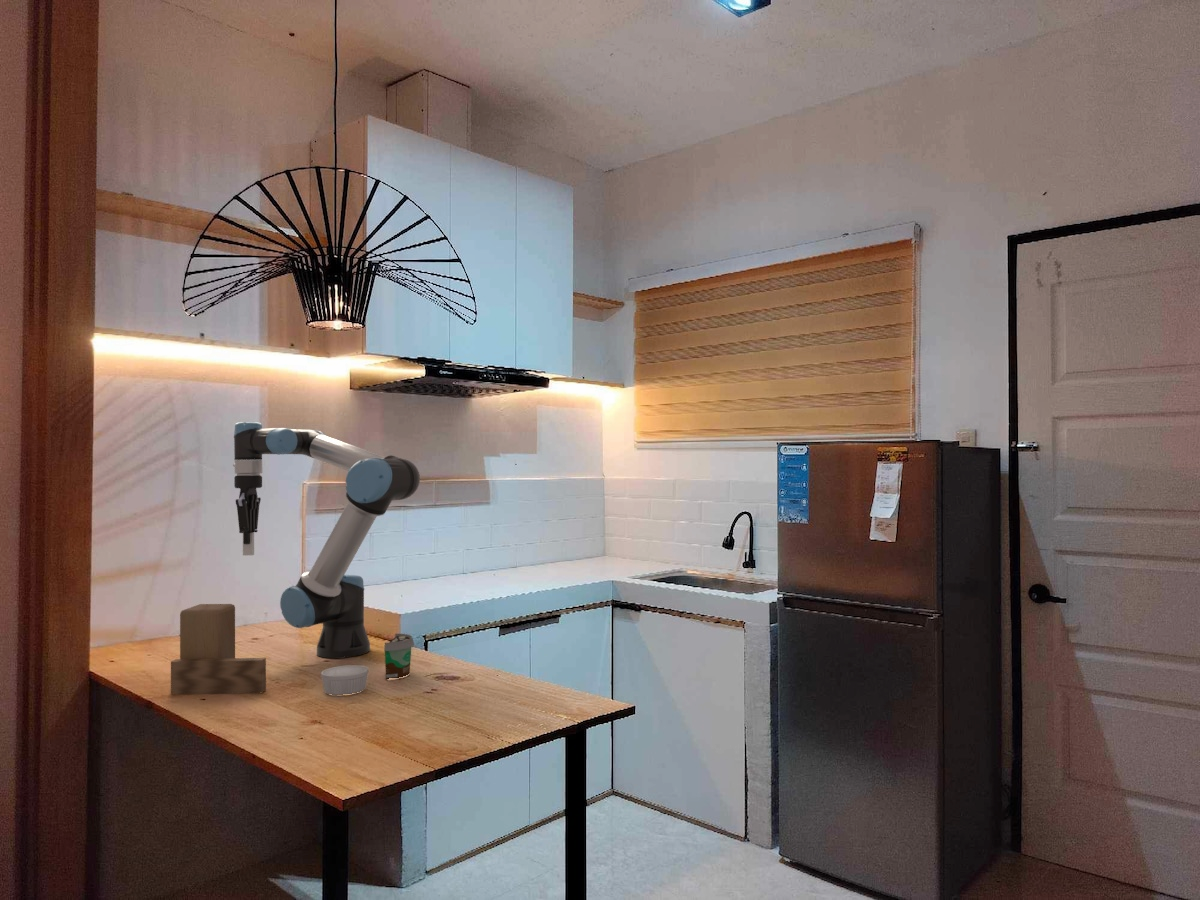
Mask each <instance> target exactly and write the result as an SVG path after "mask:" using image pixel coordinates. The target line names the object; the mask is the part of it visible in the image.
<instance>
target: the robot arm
mask: <svg viewBox="0 0 1200 900" xmlns="http://www.w3.org/2000/svg"><path fill="white" fill-rule="evenodd" d="M233 439H234V441H233V442H234V443H233V445H234V449H233V450H234V463H233V464H232V466H233V467H234V474H236V475H235V476H234V488H235V489H239V495H238V498H237V499H235V506H236V510H237V511H236V512H237V520H238V521H237V522H238V529H239V530H238V532H239V534H242V556H254V555H255V533H258V531H259V530H258V524H259V523H258V522H259V515H260V514H259V512H260V504H261V500H262V499H261V498H262V497H260V496H258V492H257V489H261V488H262V487H263V476H262V475H261V474H262V473H263V455H303V456H305V457H309V458H313V459H316V460H318V461H321V462H323V463H326V464H328V465H332V466H333V467H336V468H340V469H342V470H345V471H348V472H347V474H346V477H345V484H346V486H345V491H346V493H345V499H346V500H347V501H346V502H347V503H346V505H345V507H344V509H343V511H342V512H341V514H340V516H339V518H338V520H337V521H336V524H335V525H334V527H333V529H332V531H331V532H330V534H329V536H328V538H327V540H326V542H325V543H324V545H323V547H322V549H321V550H320V553H319V555H318V556H317V558H316V560H315V562H314V564H313V566H312V568H311V569H310V570H306V571H304V572H303V573H302V574H301V576H300V577H299V580H298V581H297V583H296V585H295V586H294V585H292V586H289V587H287V588H286V589H285V590H284V591H283V592H282V594H281V596H280V600H279V601H280V602H279V606H280V610H281V615H282V616H283V618H284V620H285V621H286V622H287V623H288V624H289V626H291V627H294V628H296V629H297V628H298V629H302V628H310V627H312V626H316V625H320V624H322V629H321V632H320V635H319V638H318V642H317V644H316V656H318V657H320V658H329V659H343V658H342V657H345V658H352V657H351V656H353V657H357V656H356V655H359V656H362V655H361V654H363V655H365V654H364V653H366V654H368V653H369V652H370V651H371V643H370V639H369V636H368V633H367V631H366V628H365V619H364V618H365V617H364V615H365V613H364V612H365V586H364V579H363V577H362V576H360V575H355V574H346V572H347V570H348V569H349V567H350V565H351V563H352V561H353V559H355V556H356V554H357V553H358V551H359V549H360V547H361V546H362V543H363V542H364V540H365V538H366V536H367V535H368V533H369V531H370V529H371V527H372V525H373V523H374V522H375V521H376V519H377V517H380V516H384V515H385V513H386V511H387V510H388V509H389V506H390V505H391V503H392V501H401V500H405V499H406V500H407V498H410V497H411V496H412V495H414V494H415V493H416V491H418V488H419V486H420V483H421V482H420V481H421V475H420V472H419V469H418V468H417V466H416V465H415V464H414V463H413V462H412V461H410V460H409V459H406V458H405V459H404V458H401V457H397V456H394V455H392V454H388V455H386V456H384V455H381V454H378V453H375V452H373V451H370V450H368V449H364V448H361V447H358V446H356V445H353V444H350V443H347V442H344V441H341V440H338V439H336V438H333V437H330V436H327V435H326V434H324V432H322V431H321V430H316V429H311V428H310V429H294V428H288V427H287V428H286V427H272V428H270V427H269V428H263V425H262V423H261V422H258V421H257V422H255V421H239V422H236V423H235V425H234V434H233ZM368 651H369V652H368ZM367 652H368V653H367Z"/></svg>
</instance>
